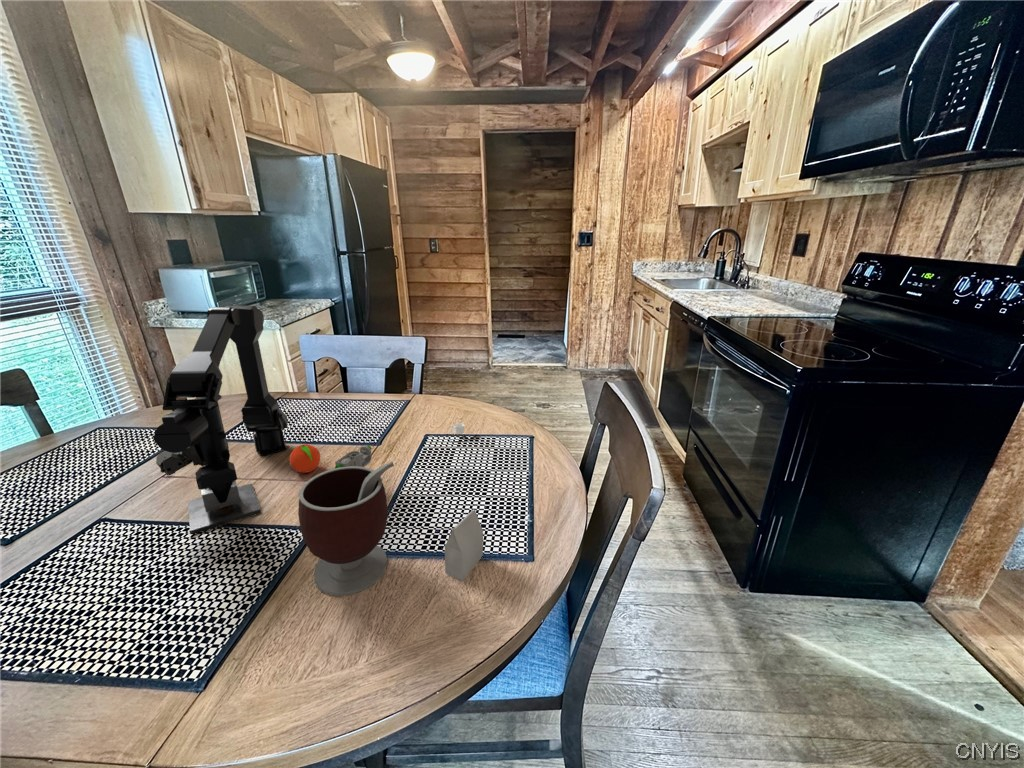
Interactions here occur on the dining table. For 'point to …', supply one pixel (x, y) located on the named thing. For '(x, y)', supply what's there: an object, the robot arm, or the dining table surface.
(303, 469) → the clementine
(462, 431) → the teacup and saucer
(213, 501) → the grey hollow block
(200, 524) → the grey socket block
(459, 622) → the dining table surface
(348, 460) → the grey lumpy piece
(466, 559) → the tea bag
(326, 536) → the mate gourd
